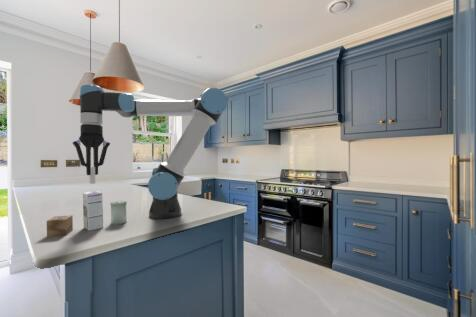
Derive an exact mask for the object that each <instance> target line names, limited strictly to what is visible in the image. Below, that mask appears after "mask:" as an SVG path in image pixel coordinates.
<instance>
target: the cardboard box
mask: <svg viewBox="0 0 476 317" xmlns="http://www.w3.org/2000/svg"><path fill="white" fill-rule="evenodd" d="M73 219H74V218H73V215H59V216H53V217H51V218H49V219H47V220H46V238H52V237H53V236H54V237H63V236H65V237H66V236H68V235H69V234H70V233H71V232H73V230H74V226H73V222H74V221H73Z"/></svg>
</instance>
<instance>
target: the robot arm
mask: <svg viewBox="0 0 476 317" xmlns="http://www.w3.org/2000/svg"><path fill="white" fill-rule="evenodd" d="M79 89H80V90H79V104H80V105H79V106H80V107H79V109H80V111H79V112H80V115H79V117H80V120H79V121H80V124H81V125H80V136H79V137H78V139H76V140H74V141H72V145H73V146H74V148H75V150H76V153H77V157H78V159H79V162H80V165H81V166H83V167H85V168H86V176H89V184H91V185H93V184H94V185H95V184H96V176H97V175H99V167H101V166H103V165H104V162H105V159H106V155H107V152H108V151H107V150H108V148H109V147H110V145H111V143H110V142H109V141H106V140H105V138H104V133H103V129H104V128H103V111H105V112H107V111H108V112H116V113H118V115H119V116H121V117H124V118H129V119H130V118H132V117H192V118H191V120H190V121H189V123H188V125H187V126H186V128H185V129H184V131H183V133H182V134H181V136H180V138H179V140H178V141H177V142H176V144H175V146H174V148H173V149H172V151H171V152H170V154H169V156H168V157H167V159H166V161H162V162H160V163H159V165H158V167H154V168H152V172H151V177H150V178H149V180H148V181H147V182H148V183H147V186H148V188H147V189H148V191H149V194H150V195H151V196H152V201H151V204H150V208H149V211H148V217H149V218H152V219H156V220H157V219H158V220H159V219H161V220H162V219H171V218H175V217H179V216H181V215H182V207H181V205H180V201H179V199H178V188H179V186H180V184H181V183H182V181H183V180H184V177H185V173H184V171H185V169H187V166H188V164H189V163H190V161H191V159H192V157H193V156H194V154H195V152H196V151H197V149H198V148H199V146H200V144H201V142H202V141H203V139H204V137H205V135H206V134H207V132H208V130H209V129H210V128H211V126H215V125H216V124H217V122H218V120H219V119H220V118H221V115H222V114H223V113H224V112H225V111H226V110H227V107H228V97H227V96H226V93H225V92H224V91H223V90H221V89H220V88H217V87H209V88H207V89H206V90H204V91H203V92H202V93H201V95H200V98H192V99H191V100H169V99H168V100H163V99H162V100H161V99H135V96H134V95H133V94H132V93H127V92H115V91H114V92H113V91H103V89H102V87H100V86H99V85H94V84H82V85H81V86H80V88H79ZM81 144H82V145H83V146H84V147H85V158H84V154H83V151H82V148H81ZM101 145H102V149H101V153H100V156H99V147H100V146H101ZM91 150H92V151H93V154H92V152H91ZM91 155H93V166H92V156H91Z"/></svg>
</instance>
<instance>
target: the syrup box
mask: <svg viewBox="0 0 476 317" xmlns="http://www.w3.org/2000/svg"><path fill="white" fill-rule="evenodd" d="M103 205H104V204H103V192H101V191H99V190H98V191H97V190H95V191H92V190H91V191H86V192H83V193H82V207H83V208H82V209H83V210H82V212H83V217H82V218H83V229H85V230H86V231H93V230H95V231H96V230H99V229H103V228H104V206H103Z"/></svg>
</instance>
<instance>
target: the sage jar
mask: <svg viewBox="0 0 476 317" xmlns="http://www.w3.org/2000/svg"><path fill="white" fill-rule="evenodd" d="M127 204H128V201H126V200H118V201H117V200H115V201H112V202H110V204H109V206H110V218H111V219H110V224H111V225H121V224H125V223H127Z"/></svg>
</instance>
